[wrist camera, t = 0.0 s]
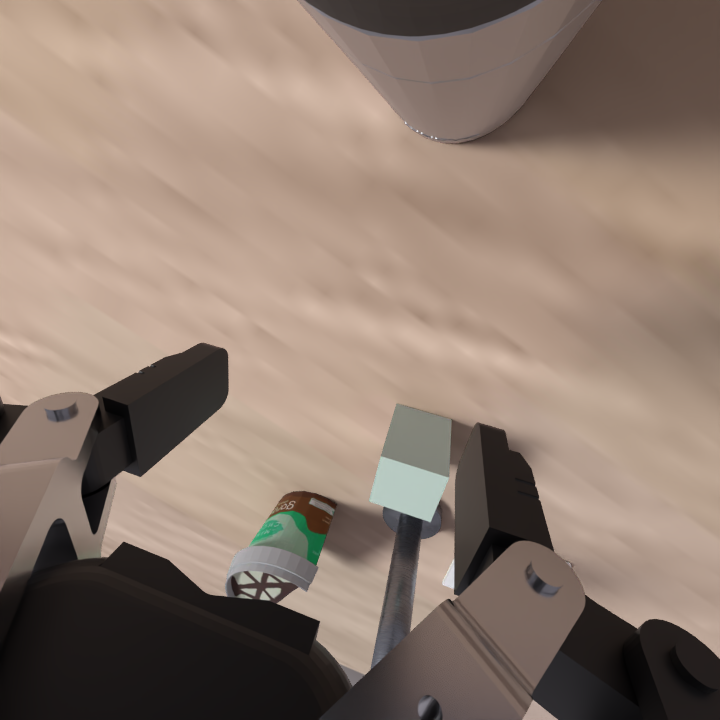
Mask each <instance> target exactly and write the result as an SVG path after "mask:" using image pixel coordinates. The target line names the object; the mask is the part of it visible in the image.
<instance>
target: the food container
mask: <svg viewBox="0 0 720 720" xmlns="http://www.w3.org/2000/svg"><path fill="white" fill-rule="evenodd" d="M336 506H337V504H335V503H334V502H332V501H331V500H329V499H327V498H325V497H323V496H321V495H318V494H316V493H311V492H306V491H296V492H291V493H288V494H286V495H285V496H283V498H282V499H281V500H280V501H279V503H278V504H277V506H276V507H275V509H274V510H273V512H272V513H271V515H270V516H269V517H268V519H267V520H266V522H265V523H264V525H263V526H262V528H261V529H260V531H259V532H258V533H257V535H256V536H255V538H254V539H253V541H252V542H251V544H250V545H249V547H247V548H244V549H242V550H240V551H239V552H237V554H236V555H235V556H234V558H233V560H232V563H231V566H230V568H229V571H228V574H227V581H226V584H225V590H226V594H227V597H237V598H248V599H259V600H268V601H271V602H273V603H278V602H279V601H281V600H282V599H283V598H284V597H286V596H287V595H288V594H289V593H291V592H292V591H293V590H295V589H297V588H298V587H300V588H301V589H303V590H304V591H306V592H307V590H308V588H309V585H310V584H311V583H312V581H313V579H314V576H315V574H316V572H317V570H318V568H319V567H317V566H316V565H317V562H318V559H319V556H320V553H321V550H322V547H323V544H324V541H325V538H326V535H327V532H328V529H329V526H330V524H331V521H332V518H333V515H334V512H335V509H336Z"/></svg>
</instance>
